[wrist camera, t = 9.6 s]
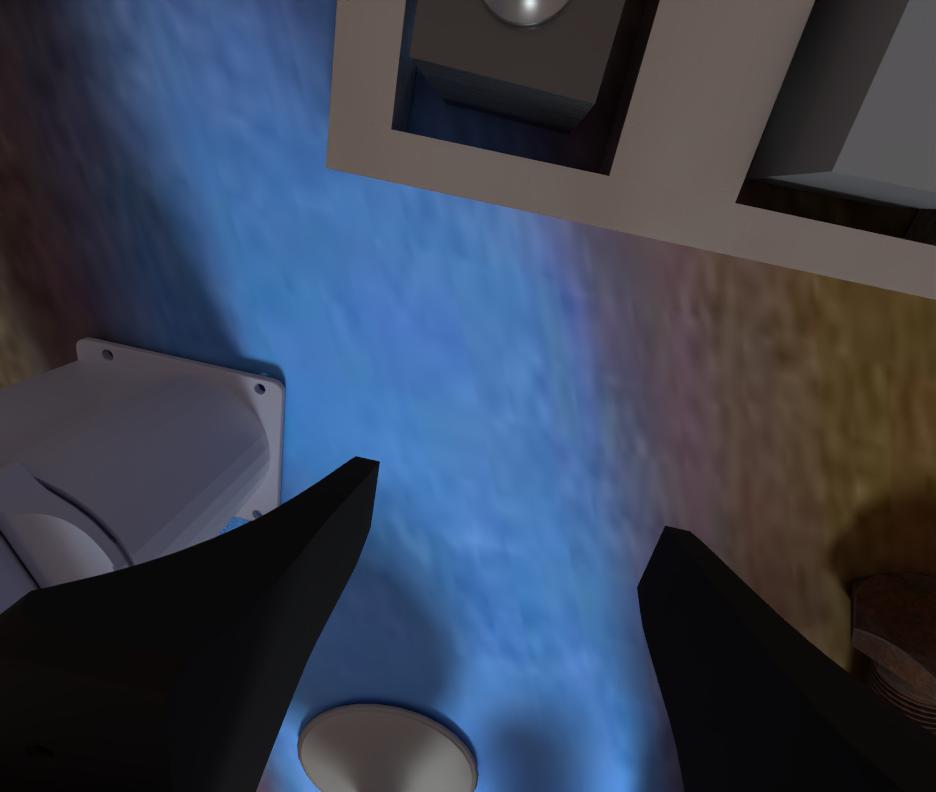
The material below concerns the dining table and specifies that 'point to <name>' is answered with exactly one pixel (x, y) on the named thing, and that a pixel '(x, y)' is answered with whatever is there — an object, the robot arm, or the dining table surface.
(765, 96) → the tray
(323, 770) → the chalice
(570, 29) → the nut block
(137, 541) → the robot arm
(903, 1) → the slate block
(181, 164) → the dining table surface
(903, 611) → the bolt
